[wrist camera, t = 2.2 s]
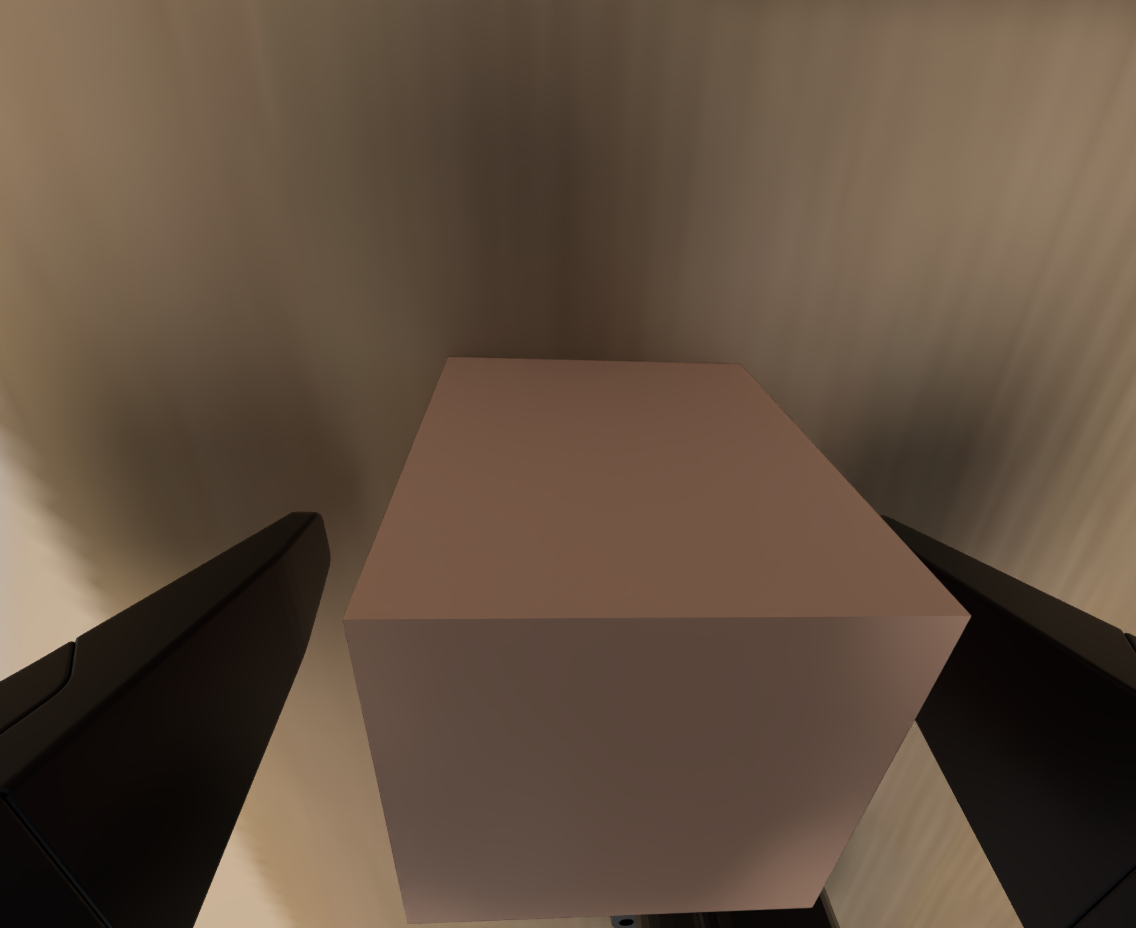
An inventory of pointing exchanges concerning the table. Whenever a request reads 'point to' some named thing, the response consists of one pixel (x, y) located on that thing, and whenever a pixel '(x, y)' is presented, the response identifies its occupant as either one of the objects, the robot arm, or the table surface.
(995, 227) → the table surface
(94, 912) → the robot arm
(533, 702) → the terracotta block
